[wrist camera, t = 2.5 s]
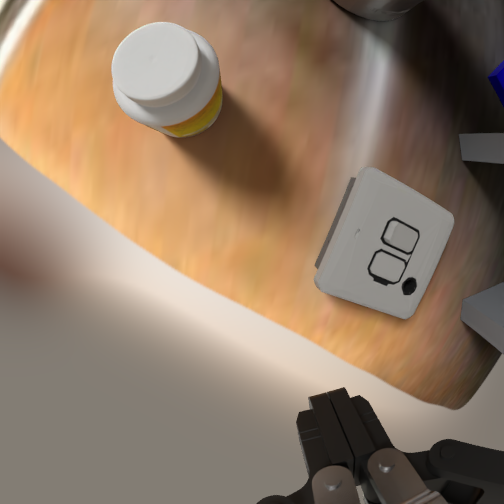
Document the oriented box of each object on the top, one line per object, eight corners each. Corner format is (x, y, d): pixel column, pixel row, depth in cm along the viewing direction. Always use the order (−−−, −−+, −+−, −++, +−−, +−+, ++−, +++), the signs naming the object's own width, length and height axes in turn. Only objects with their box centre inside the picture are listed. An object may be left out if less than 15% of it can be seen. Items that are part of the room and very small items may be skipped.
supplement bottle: (233, 79, 20) (237, 20, 10) (208, 147, 22) (192, 133, 12) (163, 61, 19) (123, 1, 10) (138, 128, 21) (77, 106, 11)
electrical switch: (411, 322, 23) (325, 301, 19) (377, 296, 27) (295, 271, 24) (459, 217, 21) (384, 165, 17) (418, 204, 25) (342, 159, 22)
